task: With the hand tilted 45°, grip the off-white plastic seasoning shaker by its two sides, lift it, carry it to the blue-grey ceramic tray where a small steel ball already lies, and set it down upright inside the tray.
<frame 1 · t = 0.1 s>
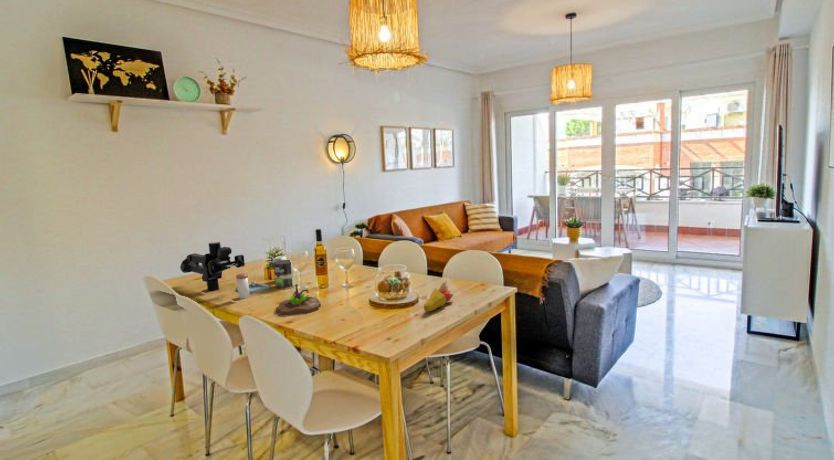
hand: (235, 265, 234), 17 cm above the table, tool horizontal, fingers open, 9 cm apart
steel ball: (254, 286, 253), point 1 cm above the table, touching tray
flower bouquet: (436, 306, 207), on the table
tray: (253, 290, 248), on the table
shaker: (244, 298, 234), on the table
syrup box: (282, 282, 263), on the table
plant: (299, 308, 215), on the table
coffee can: (285, 287, 252), on the table
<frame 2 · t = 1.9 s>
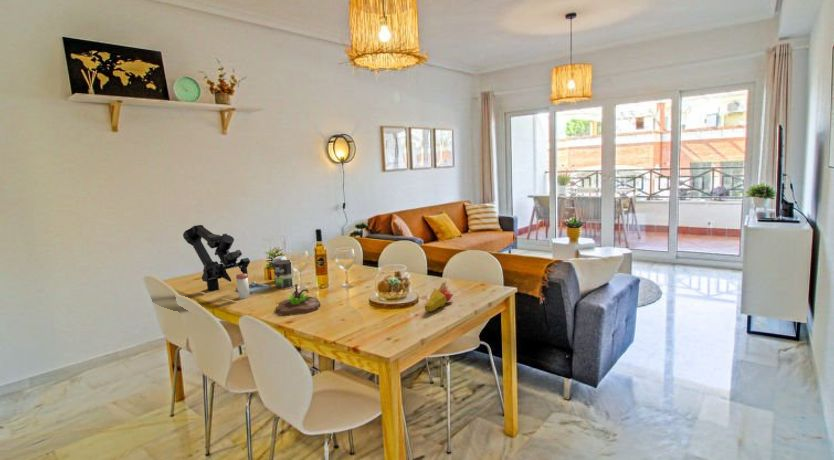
hand: (239, 279, 234), 10 cm above the table, tool tilted 45°, fingers open, 9 cm apart
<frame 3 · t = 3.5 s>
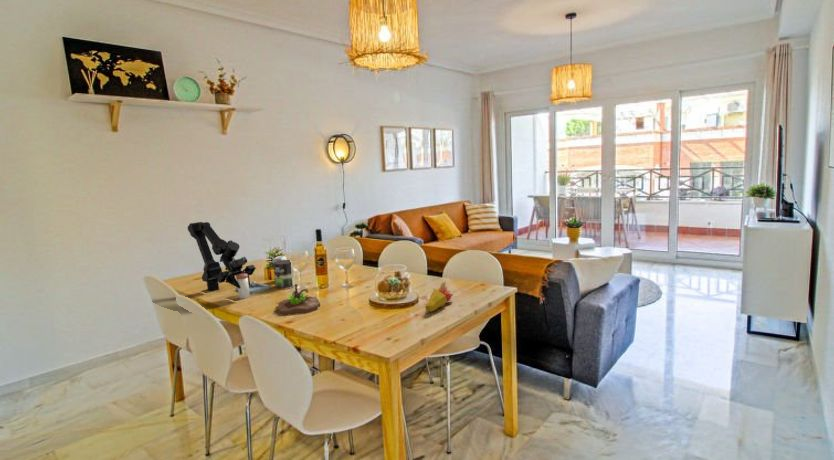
hand: (244, 286, 232), 7 cm above the table, tool tilted 45°, fingers closed on shaker, 5 cm apart
shaker: (244, 298, 234), on the table, touching gripper
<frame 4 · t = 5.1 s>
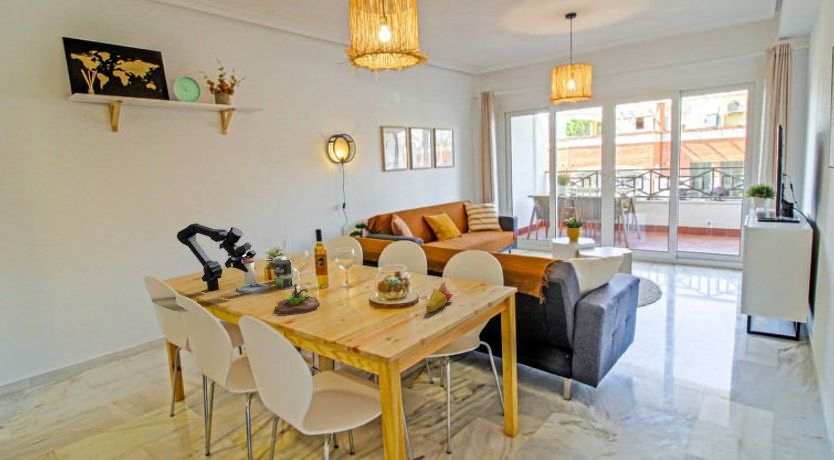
hand: (251, 270, 240), 12 cm above the table, tool tilted 45°, fingers closed on shaker, 5 cm apart
shaker: (250, 282, 242), point 6 cm above the table, touching gripper
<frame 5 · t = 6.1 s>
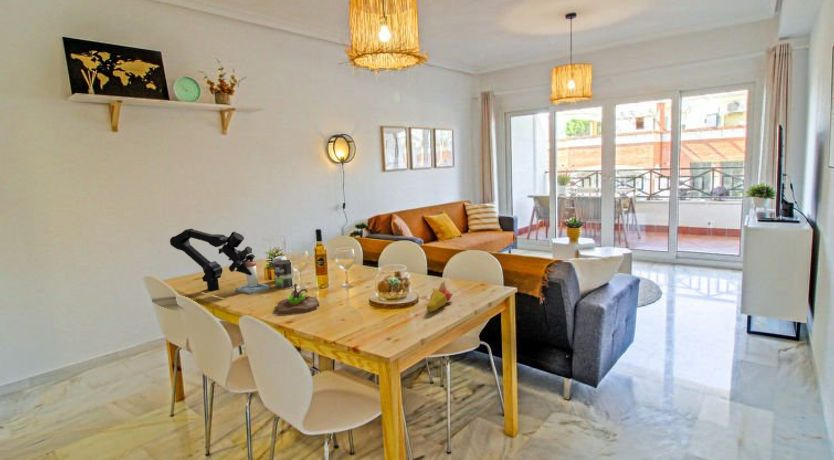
hand: (253, 273, 246), 10 cm above the table, tool tilted 45°, fingers closed on shaker, 5 cm apart
shaker: (252, 285, 247), point 3 cm above the table, touching gripper
when the fingers open (8 cm above the table, at t = 6.7 s): shaker drops 1 cm, resting on tray.
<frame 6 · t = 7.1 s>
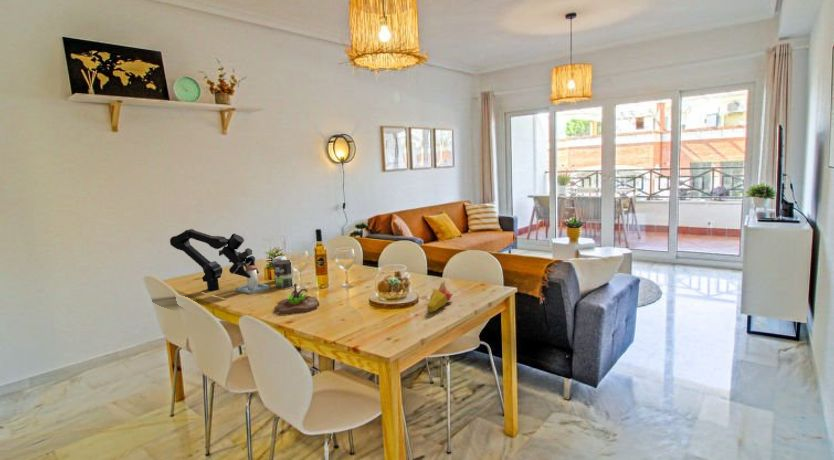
hand: (254, 275, 246), 9 cm above the table, tool tilted 45°, fingers open, 9 cm apart
shaker: (253, 289, 248), point 1 cm above the table, touching tray
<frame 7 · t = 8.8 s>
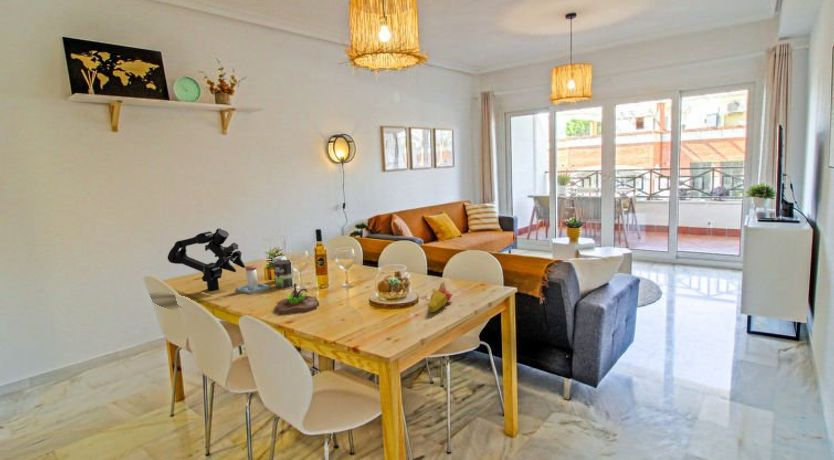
hand: (240, 269, 247), 12 cm above the table, tool tilted 45°, fingers open, 9 cm apart
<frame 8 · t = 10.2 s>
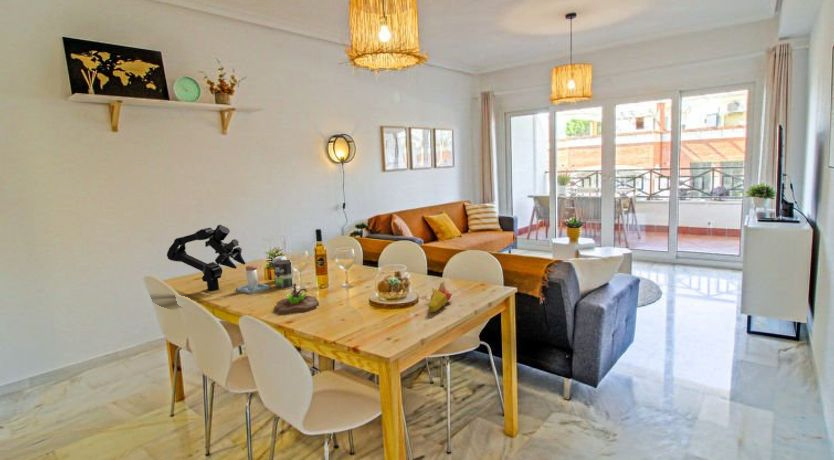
hand: (240, 266, 247), 14 cm above the table, tool tilted 45°, fingers open, 9 cm apart
at the end: shaker inside the target area on the tray (0.0 cm from its centre), point 0.8 cm above the tray's base; shaker tilted 0°; the gripper is holding nothing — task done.
